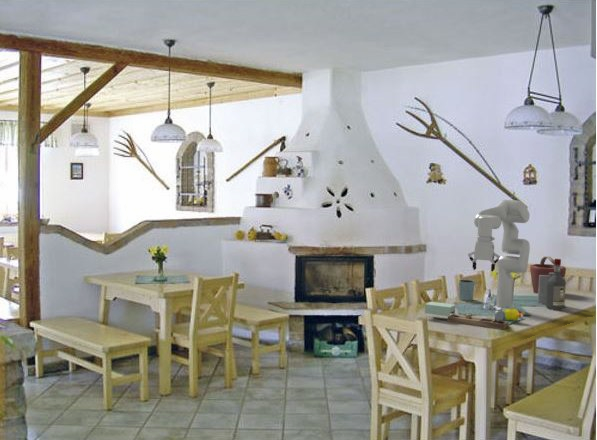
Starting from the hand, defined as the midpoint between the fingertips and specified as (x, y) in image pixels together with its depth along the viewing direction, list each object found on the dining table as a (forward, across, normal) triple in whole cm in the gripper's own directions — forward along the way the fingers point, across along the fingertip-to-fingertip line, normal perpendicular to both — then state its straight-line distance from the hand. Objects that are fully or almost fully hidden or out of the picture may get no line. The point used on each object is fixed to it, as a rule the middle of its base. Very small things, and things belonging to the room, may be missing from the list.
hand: (483, 270), depth 372 cm
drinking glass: (+29, +24, -54) cm, 65 cm away
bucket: (+30, -15, -111) cm, 116 cm away
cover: (+24, +20, +12) cm, 33 cm away
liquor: (+29, -29, -57) cm, 70 cm away
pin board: (+27, -1, +13) cm, 30 cm away
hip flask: (+29, -25, -69) cm, 79 cm away
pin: (+27, -12, +14) cm, 32 cm away
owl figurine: (+28, -14, -4) cm, 31 cm away
